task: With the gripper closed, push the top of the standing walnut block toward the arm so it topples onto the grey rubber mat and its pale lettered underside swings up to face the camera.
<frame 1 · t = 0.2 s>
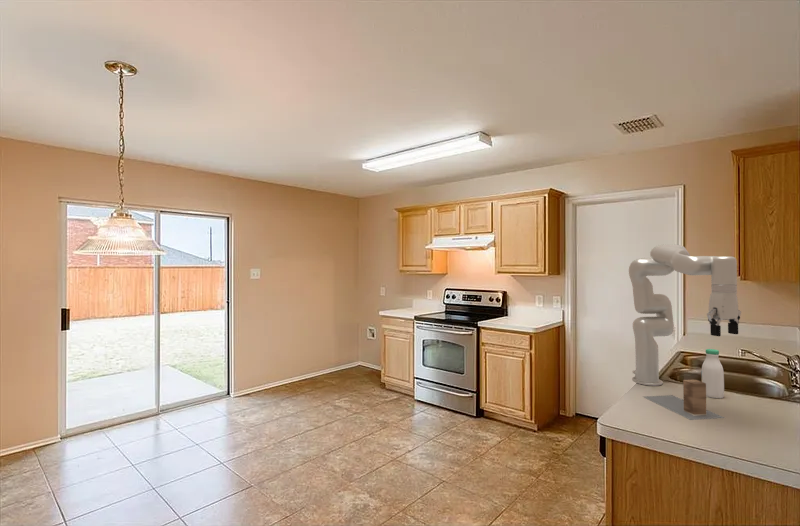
hand: (724, 334, 153), 31 cm above the worktop, fingers open, 9 cm apart
walnut block: (694, 412, 156), resting on mat
mat: (680, 407, 163), on the worktop
milk bottle: (712, 396, 177), on the worktop
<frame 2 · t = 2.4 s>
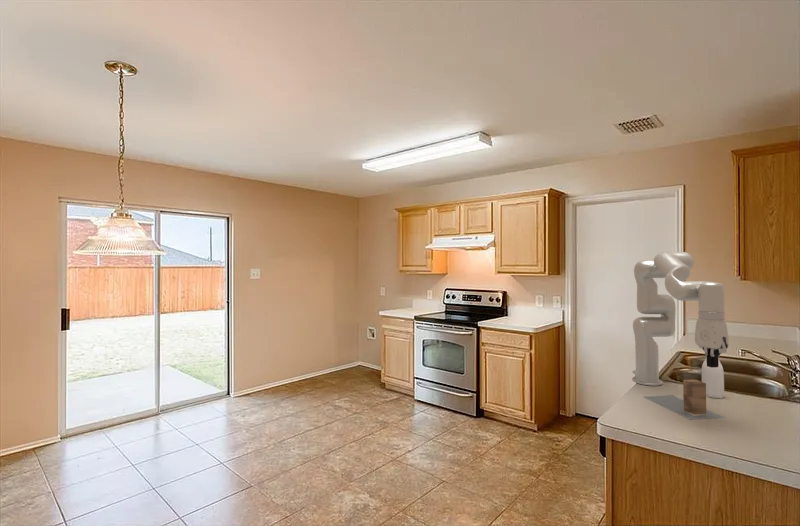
hand: (712, 366, 148), 20 cm above the worktop, fingers closed
nothing on the worktop moved.
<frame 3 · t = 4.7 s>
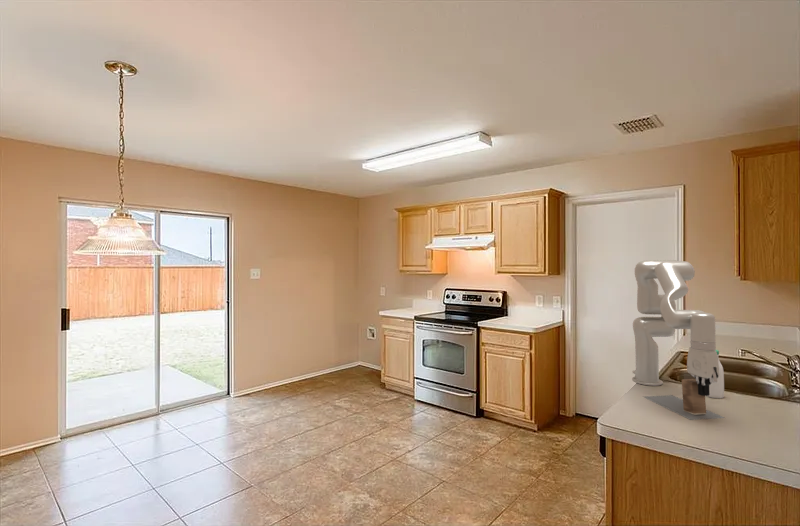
hand: (703, 394, 152), 9 cm above the worktop, fingers closed
nothing on the worktop moved.
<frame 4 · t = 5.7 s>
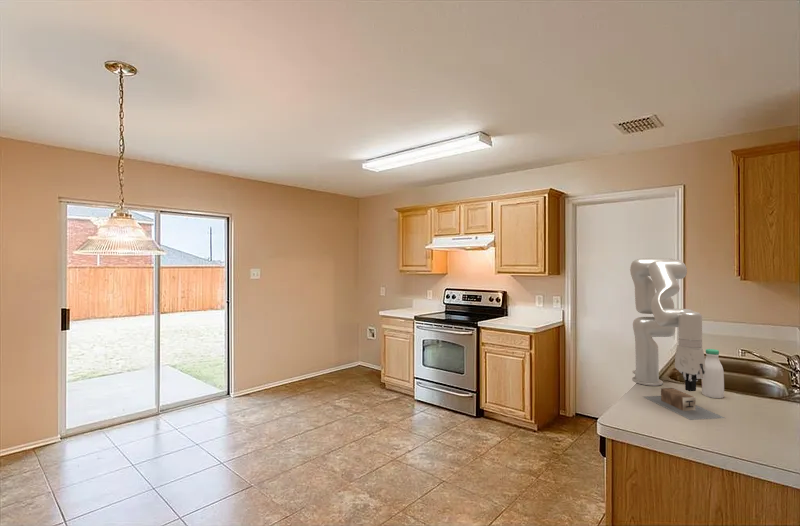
hand: (690, 390, 158), 8 cm above the worktop, fingers closed
walnut block: (689, 404, 159), point 3 cm above the worktop, tilted 90°, touching mat
everything else where it was.
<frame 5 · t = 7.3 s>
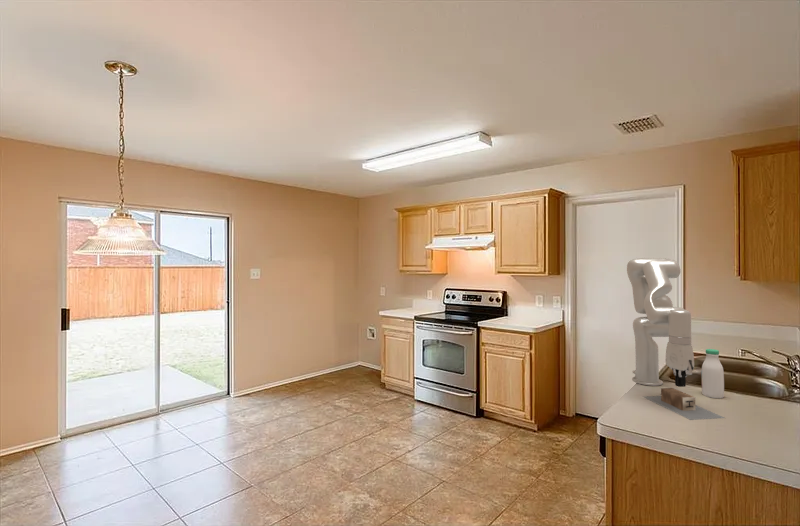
hand: (680, 386, 163), 9 cm above the worktop, fingers closed
nothing on the worktop moved.
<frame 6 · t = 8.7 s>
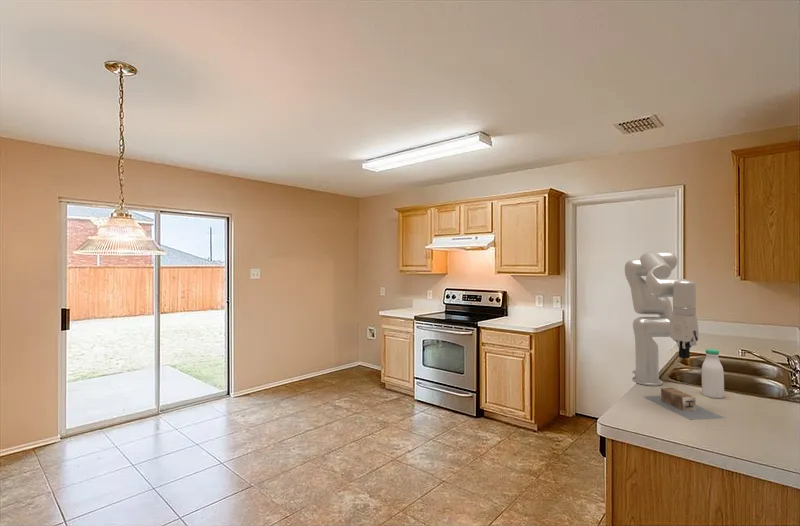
hand: (684, 357, 161), 20 cm above the worktop, fingers closed
nothing on the worktop moved.
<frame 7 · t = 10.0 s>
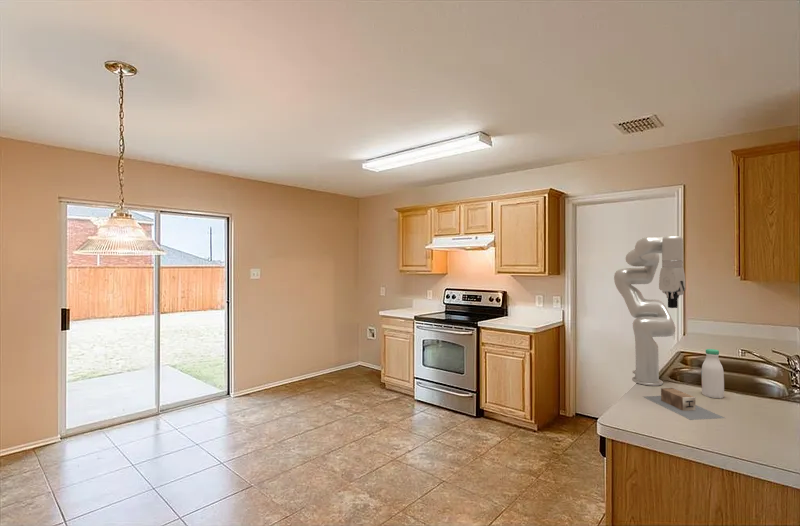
hand: (672, 307, 175), 39 cm above the worktop, fingers closed
nothing on the worktop moved.
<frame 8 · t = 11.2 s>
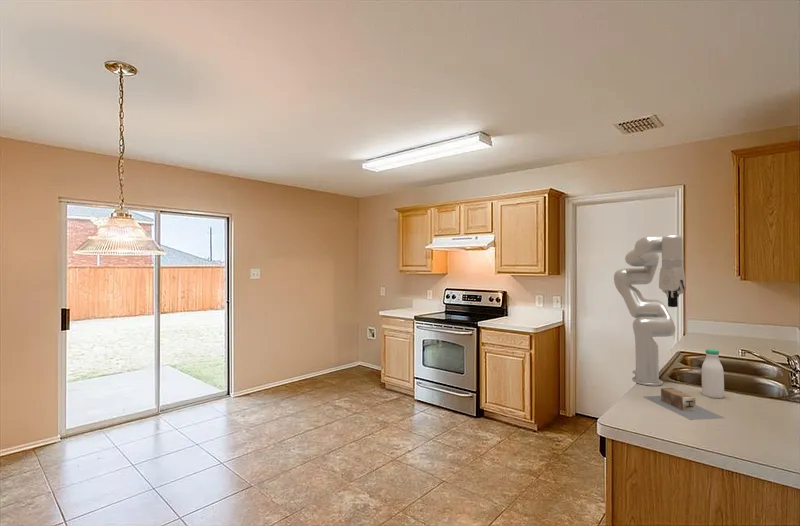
hand: (672, 306, 175), 39 cm above the worktop, fingers closed
nothing on the worktop moved.
at the end: walnut block tilted 90°; walnut block inside the target area (5.5 cm from its centre), point 2.9 cm above the worktop; the gripper is holding nothing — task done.
